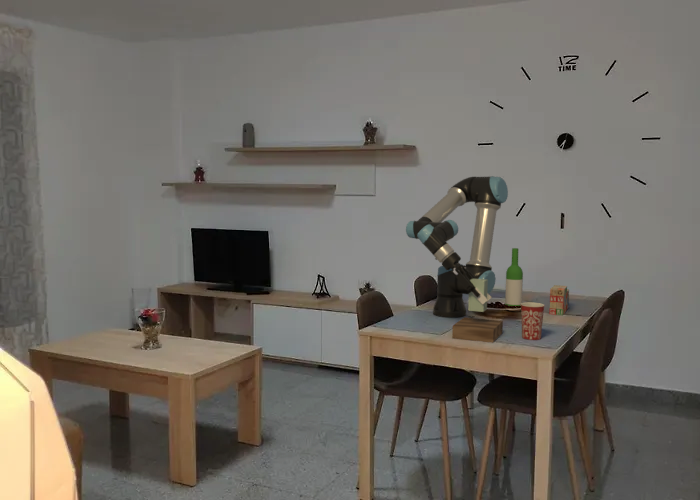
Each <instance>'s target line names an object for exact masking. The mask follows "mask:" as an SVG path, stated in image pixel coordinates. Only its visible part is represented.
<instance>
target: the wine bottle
mask: <svg viewBox="0 0 700 500" xmlns="http://www.w3.org/2000/svg"><path fill="white" fill-rule="evenodd" d="M523 275H524V272H523V269H522V267H521V266H519V248H516V247H512V248H511V264H510V266H509V267H508V268H507V269H506V272H505V295H504V296H505V297H504V298H505V300H504V306H505V305H508V306H520V305H521V303H523V285H524V284H523V280H524V276H523Z"/></svg>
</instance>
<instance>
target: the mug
mask: <svg viewBox="0 0 700 500" xmlns="http://www.w3.org/2000/svg"><path fill="white" fill-rule="evenodd" d="M544 311H545V304H543V303H541V302H540V303H539V302H533V301H532V302H531V301H528V302H522V303H521V311H520V313H521V337H522V339H524V340H528V341H540V340H541V338H542V330H543V321H544Z"/></svg>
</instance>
